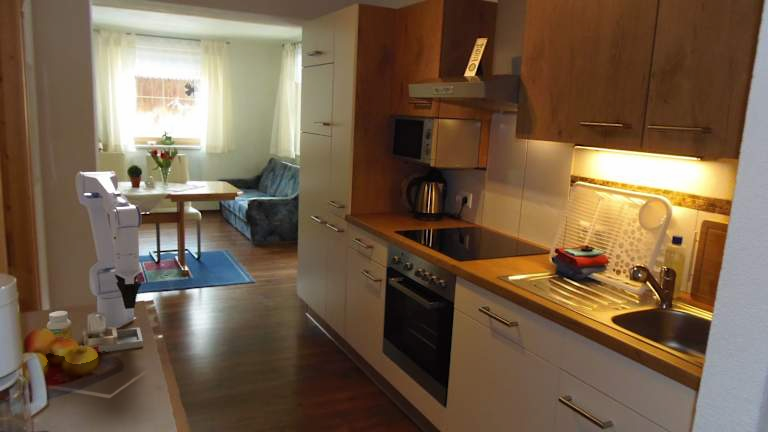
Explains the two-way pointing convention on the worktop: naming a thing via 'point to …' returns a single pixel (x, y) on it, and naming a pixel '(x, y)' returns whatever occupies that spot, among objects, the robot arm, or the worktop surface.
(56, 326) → the supplement bottle
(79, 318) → the worktop surface
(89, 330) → the handle peg
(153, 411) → the worktop surface
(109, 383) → the worktop surface
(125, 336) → the bay
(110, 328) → the crate
